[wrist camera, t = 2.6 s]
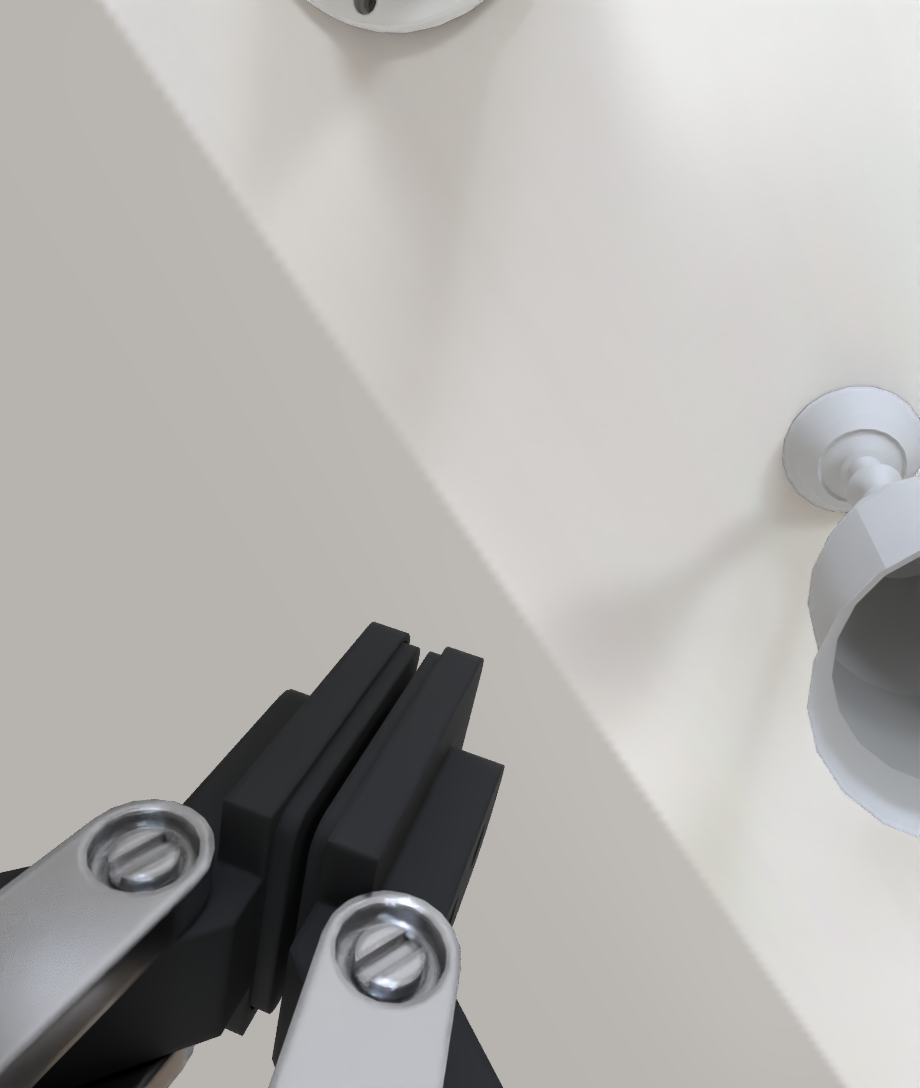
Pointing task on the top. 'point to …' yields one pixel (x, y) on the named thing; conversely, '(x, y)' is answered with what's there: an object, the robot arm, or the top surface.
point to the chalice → (865, 595)
